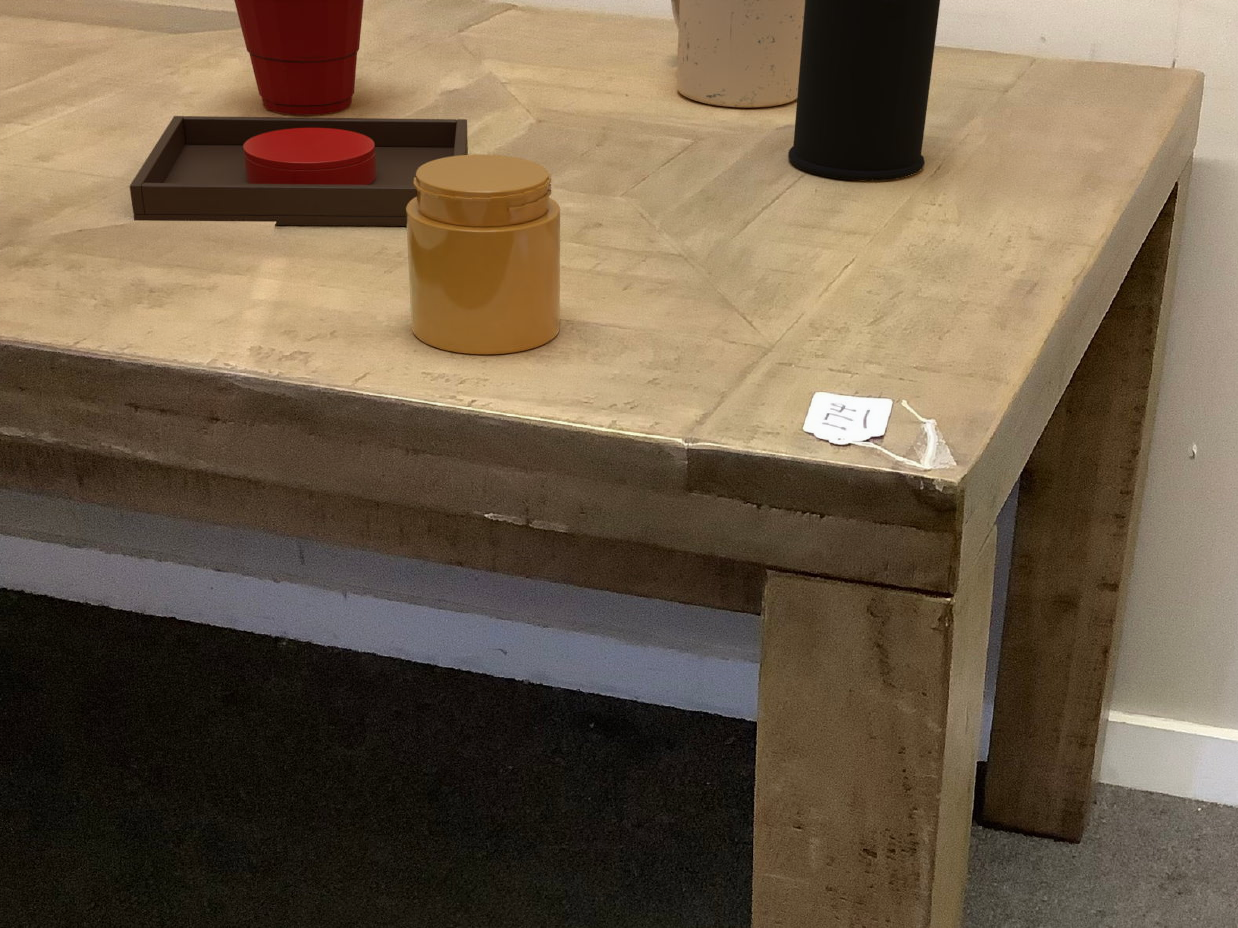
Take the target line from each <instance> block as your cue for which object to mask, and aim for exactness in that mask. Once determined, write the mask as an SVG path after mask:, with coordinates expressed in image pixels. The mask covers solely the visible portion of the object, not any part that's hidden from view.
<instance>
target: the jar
mask: <svg viewBox="0 0 1238 928" xmlns="http://www.w3.org/2000/svg"><path fill="white" fill-rule="evenodd" d="M551 183H552V173H551V172H549V171H548V169H547V168H546V167H545V166H544V165H542V164H540V163H538V162H535V161H533V160H529V159H525V158H522V157H516V156H509V155H501V154H485V153H484V154H468V155H459V156H451V157H445V158H441V159H437V160H433V161H430V162H428V163H425V164H423V165H422V166H420V167H419V168H418V169H417V171H416V177H414V182H413V186H414V187H415V188H416V192H417V197H415V198H413V199H412V200H411V201H409V203H408V204H407V206H406V222H407V226H406V238H407V239H406V241H407V259H408V281H409V300H410V320H411V321H410V322H411V330H412V333H413V335H415V337H416V338H417V339H418V340H419V341H421V342H422V343H424V344H426V345H429V346H431V347H434V348H437V349H439V350H444V351H448V352H453V353H460V354H469V355H504V354H512V353H519V352H523V351H528V350H532V349H535V348H537V347H541V346H543V345H545V344H547V343H549V342H551V341H552V340H553V339H554V338H555V337H557V335H558V334H559V331H560V327H561V206H560V204H559V203H558V202H557V201H556V200H555V199H553V198H552V197H550V196H551V195H552V184H551Z"/></svg>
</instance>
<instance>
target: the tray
mask: <svg viewBox="0 0 1238 928" xmlns="http://www.w3.org/2000/svg"><path fill="white" fill-rule="evenodd" d="M293 128H331V129H341V130H347V131H352V132H356V133H360V134H362V135H365V136H367V137H369V138H370V139H372V140H373V141H374V144H375V159H376V179H375V181H374V182H373V183H371V184H370V185H323V184H249V183H248V181H247V178H246V168H245V159H244V149H243V146H244V143H245V142H246V141H247V140H249V139H250V138H252V137H254V136H257V135H260V134H263V133H267V132H271V131H277V130H284V129H293ZM468 138H469V137H468V120H467V119H463V118H457V119H456V118H387V117H386V118H383V117H381V118H380V117H379V118H378V117H377V118H376V117H303V116H302V117H300V116H299V117H298V116H296V117H295V116H293V117H292V116H291V117H289V116H215V115H214V116H212V115H209V116H208V115H207V116H206V115H205V116H204V115H203V116H202V115H185V116H184V115H173V117H172V119H171V120H170V121H169V123H168V125H167V126H166V128H165V130H164V131H163V133H162V134H161V136H160V137H159V139H158V141H157V142H156V143H155V145H154V147H153V148H152V150H151V152H150V153H149V155H148V156H147V158H146V160H145V161H144V162H143V164H142V165H141V167H140V169H139V170H138V171H137V174H136V175H135V176H134V178H133V180H132V182H131V183H130V185H129V193H130V200H131V206H132V213H133V214H132V215H133V220H134V221H139V222H140V221H141V222H143V221H144V222H146V221H147V222H148V221H149V222H152V221H153V222H158V221H159V222H160V221H161V222H259V223H260V222H264V223H265V222H267V223H274V222H275V224H274V225H275V226H339V227H340V226H341V227H342V226H345V227H347V226H351V227H352V226H357V227H363V226H364V227H365V226H366V227H407V222H406V206H407V204H408V203H409V201H411V200H412V199H413V198H415V197H417V192H416V188H415V187H414V186H413V182H414V177H416V171H417V169H418V168H419V167H420V166H422V165H423V164H425V163H428V162H430V161H433V160H437V159H441V158H445V157H451V156H459V155H469V144H468V143H469V142H468Z"/></svg>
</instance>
